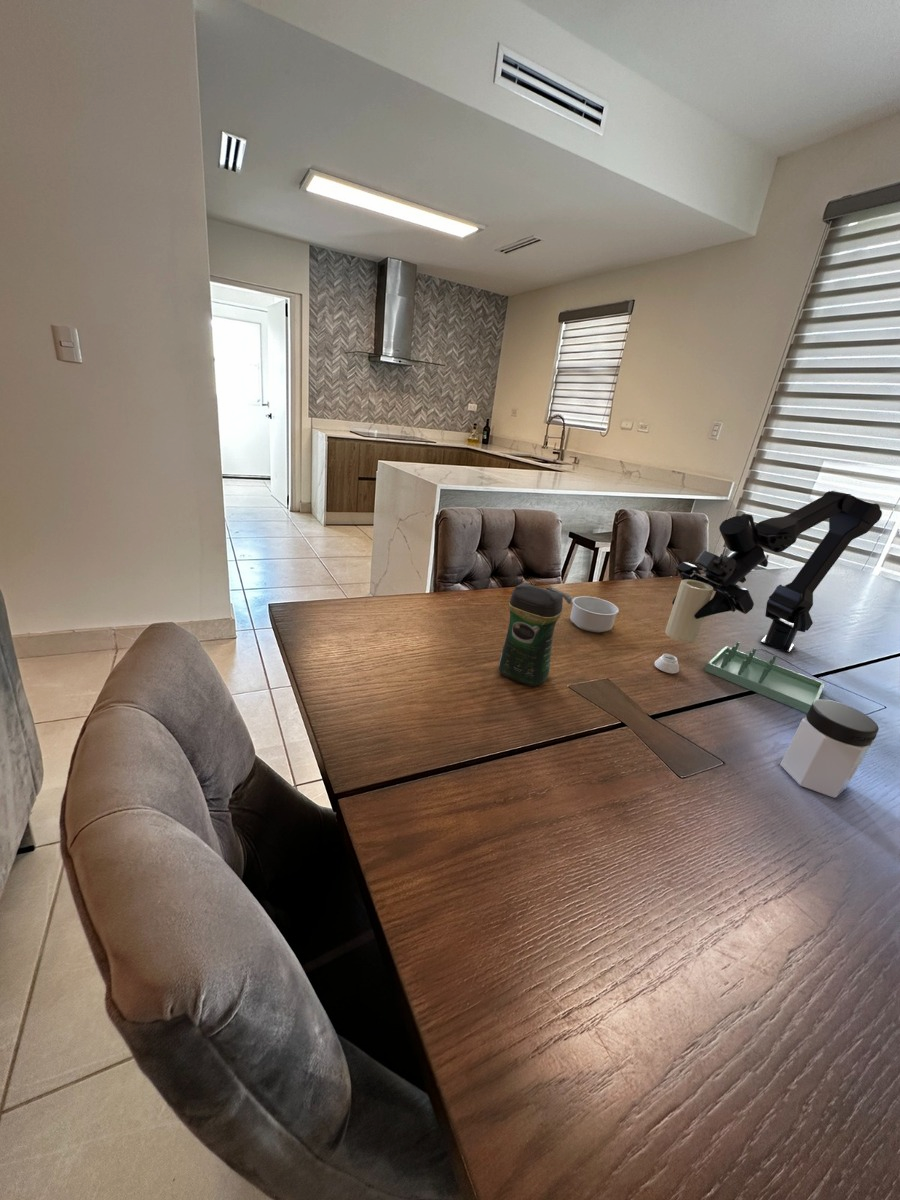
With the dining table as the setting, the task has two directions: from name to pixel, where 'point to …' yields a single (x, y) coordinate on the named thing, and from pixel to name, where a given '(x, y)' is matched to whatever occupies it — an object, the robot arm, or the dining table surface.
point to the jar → (829, 747)
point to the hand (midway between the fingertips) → (683, 610)
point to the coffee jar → (530, 634)
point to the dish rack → (766, 678)
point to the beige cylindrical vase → (688, 610)
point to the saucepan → (590, 612)
